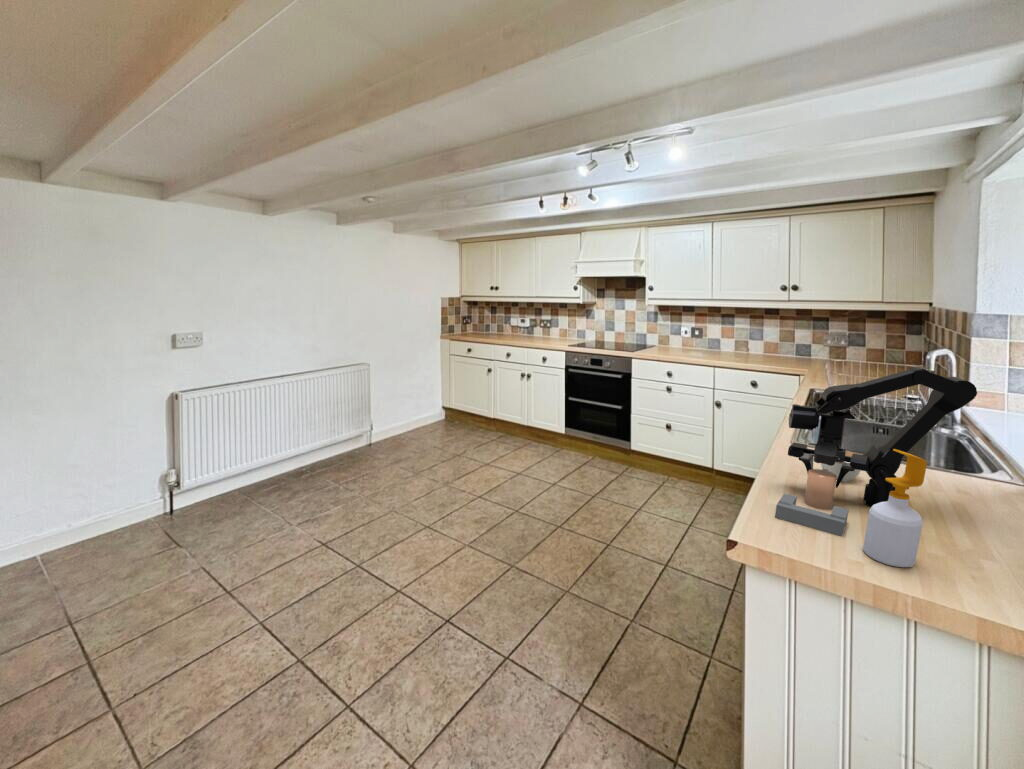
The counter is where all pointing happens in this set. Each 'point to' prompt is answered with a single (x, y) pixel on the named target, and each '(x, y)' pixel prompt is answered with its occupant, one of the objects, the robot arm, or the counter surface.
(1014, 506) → the counter surface
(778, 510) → the cradle
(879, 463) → the robot arm
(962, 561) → the counter surface
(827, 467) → the lidded jar
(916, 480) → the soap bottle
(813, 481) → the tan handled cup
